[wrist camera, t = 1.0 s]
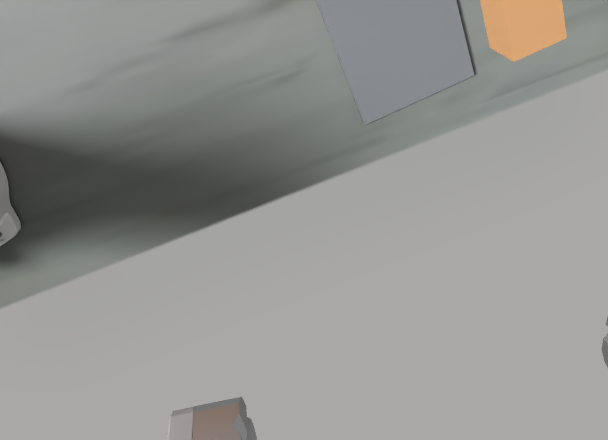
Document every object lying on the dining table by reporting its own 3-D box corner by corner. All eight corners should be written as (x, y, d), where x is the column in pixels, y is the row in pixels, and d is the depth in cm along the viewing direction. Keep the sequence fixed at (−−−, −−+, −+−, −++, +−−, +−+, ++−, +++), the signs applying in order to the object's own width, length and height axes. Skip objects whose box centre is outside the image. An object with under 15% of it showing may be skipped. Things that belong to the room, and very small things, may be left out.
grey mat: (472, 74, 53) (474, 75, 53) (364, 123, 54) (364, 125, 54) (419, -147, 42) (420, -147, 42) (285, -79, 44) (285, -79, 43)
